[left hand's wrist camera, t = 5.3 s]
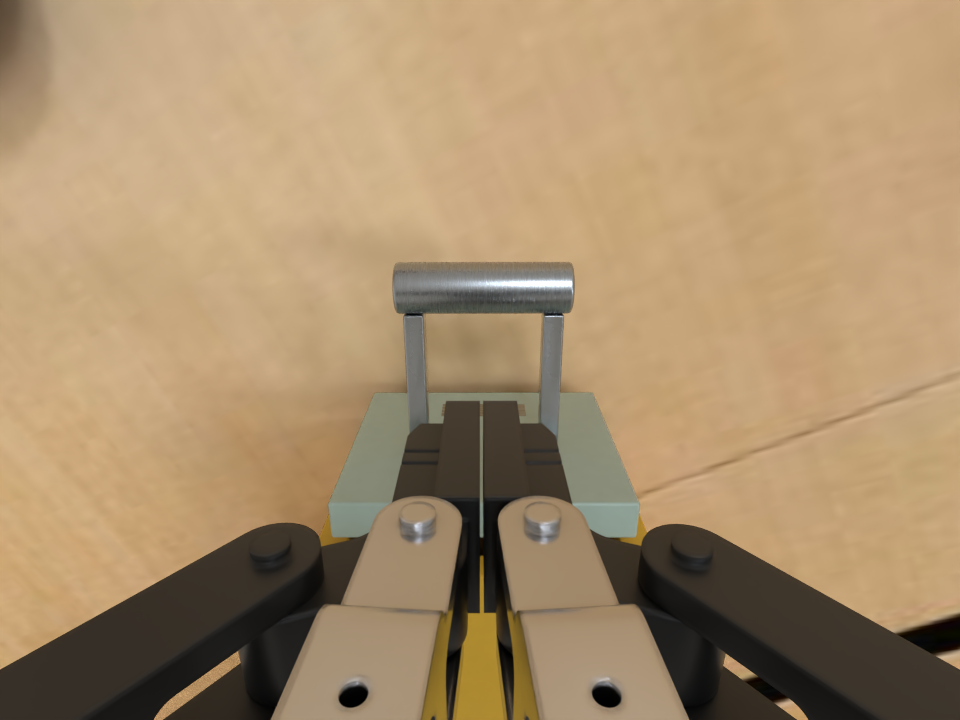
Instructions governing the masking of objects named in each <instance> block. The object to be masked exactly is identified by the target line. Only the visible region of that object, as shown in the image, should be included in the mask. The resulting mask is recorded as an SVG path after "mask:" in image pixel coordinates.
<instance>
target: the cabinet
mask: <svg viewBox="0 0 960 720" xmlns="http://www.w3.org/2000/svg"><path fill="white" fill-rule="evenodd" d="M646 534H647V531H646V529H645V526H644V524H643V522H642V519H641V517H640V514H639V517H638V526H637V534H636V537H634V538H610V539H614V540H618V541H622V542H626V543H631V544H635V545H640V546H641V544H642V540H643V538H644V536H645V535H646ZM355 538H357V537H332V534H331V525H330V517H329V515H328V517H327V520H326V522H325V525H324V527H323V529H322V532H321V534H320V537H319V539H320V541H321V546H325V545H330V544H334V543H339V542H343V541H347V540H351V539H355ZM456 720H504V717H503V708H502V700H501V692H500V683H499V675H498V667H497V658H496V613H484V572H483V556H480V613H468V630H467V636H466V638H465V641H464V658H463V667H462V675H461V683H460V692H459V700H458V708H457V717H456Z"/></svg>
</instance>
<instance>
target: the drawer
mask: <svg viewBox="0 0 960 720" xmlns="http://www.w3.org/2000/svg"><path fill="white" fill-rule="evenodd" d="M392 288H393V302H394V307H395V310H396V312H397V313H399V314H404V317H403V322H404V341H405V359H406V378H407V393H374V396H373V398H372V400H371V403H370V405H369V408H368V410H367V412H366V415H365V417H364V420H363V422H362V424H361V427H360V429H359V431H358V434H357V436H356V439H355V441H354V443H353V446H352V448H351V451H350V453H349V455H348V458H347V460H346V463H345V465H344V467H343V470H342V472H341V474H340V477H339V479H338V482H337V484H336V486H335V489H334V491H333V494H332V496H331V498H330V501H329V503H328V508H329V517H330V525H331V534H332V537H360V536H362V535H364V534H367V533H369V531H370V529H371V526H372V524H373V521H374V519H375V517H376V515H377V514H378V513H379V511H380V510H381V509H383V508H384V507H385V506H387V505H388V504H390V503H392V500H393V495H394V491H395V487H396V483H397V479H398V474H399V470H400V466H401V464H402V458H403V453H404V449H405V445H406V441H407V436H408V435H409V434H410V433H411V432H412V431H413V430H414V429H415V428H416V427H417V426H418V425H420V424H421V423H443V420H444V412H445V404H446V401H480V556H483V401H517V404H518V411H519V418H520V423H543V424H544V425H545V426H546V427H547V428H548V429H549V430H550V431H551V432H552V433H553V434H554V435H555V436H556V440H557V444H558V448H559V453H560V456H561V460H562V464H563V468H564V472H565V476H566V480H567V484H568V488H569V492H570V496H571V500H572V504H573V506H575V507H576V508H577V509H579V510H580V511H581V513H582V514H583V515H584V517H585V519H586V521H587V524H588V526H589V529H591V530H593V531H594V532H596V533H598V534H600V535H602V536H605V537H607V538H634V537H636V534H637V526H638V517H639V509H640V503H639V501H638V498H637V496H636V494H635V491H634V489H633V487H632V484H631V482H630V479H629V477H628V475H627V472H626V470H625V468H624V465H623V463H622V461H621V458H620V456H619V453H618V451H617V449H616V446H615V444H614V442H613V439H612V437H611V435H610V432H609V430H608V427H607V425H606V423H605V420H604V418H603V416H602V413H601V411H600V409H599V406H598V404H597V402H596V399H595V397H594V394H593V393H560V385H561V366H562V346H563V327H564V315H563V313H570V312H571V310H572V308H573V303H574V292H575V279H574V269H573V266H572V263H570V262H398V263H396V264H395V266H394V270H393V282H392ZM489 313H542V323H541V350H540V377H539V393H428V373H427V347H426V322H425V314H489Z"/></svg>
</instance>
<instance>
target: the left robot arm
mask: <svg viewBox="0 0 960 720" xmlns="http://www.w3.org/2000/svg"><path fill="white" fill-rule="evenodd" d="M483 572H484V613H496V658H497V667H498V675H499V683H500V692H501V700H502V708H503V717H504V720H796V719H795V718H794V717H792V716H791V715H790V714H788V713H787V712H785V711H784V710H783V709H781V708H780V707H779V706H777V705H776V704H774V703H773V702H772V701H770V700H769V699H768V698H766V697H765V696H764V695H762V694H761V693H759V692H758V691H757V690H755V689H754V688H753V687H751V686H750V685H748V684H747V683H746V682H744V681H743V680H742V679H740V678H739V677H738V676H736V675H735V674H733V673H732V672H731V671H729V670H728V669H727V668H725V667H724V666H723V664H724V659H725V654H728V655H729V656H730V657H732V658H733V659H735V660H736V661H737V662H739V663H740V664H742V665H743V666H744V667H746V668H747V669H749V670H750V671H752V672H753V673H754V674H756V675H757V676H759V677H760V678H761V679H763V680H764V681H766V682H767V683H768V684H770V685H771V686H773V687H774V688H775V689H777V690H778V691H780V692H781V693H782V694H784V695H785V696H787V697H788V698H789V699H791V700H792V701H793V702H794V703H795V704H796V705H797V706H799V708H800V709H801V710H802V711H803V712H804V714H805V715H806V716H807V718H808V720H960V670H959V669H958V668H956V667H954V666H952V665H950V664H949V663H947V662H945V661H943V660H941V659H940V658H938V657H936V656H934V655H932V654H931V653H929V652H927V651H925V650H923V649H922V648H920V647H918V646H916V645H914V644H913V643H911V642H909V641H907V640H905V639H904V638H902V637H900V636H898V635H896V634H895V633H893V632H891V631H889V630H887V629H886V628H884V627H882V626H880V625H878V624H877V623H875V622H873V621H871V620H869V619H868V618H866V617H864V616H862V615H860V614H859V613H857V612H855V611H853V610H851V609H850V608H848V607H846V606H844V605H842V604H841V603H839V602H837V601H835V600H833V599H832V598H830V597H828V596H826V595H824V594H823V593H821V592H819V591H817V590H815V589H814V588H812V587H810V586H808V585H806V584H805V583H803V582H801V581H799V580H797V579H796V578H794V577H792V576H790V575H788V574H787V573H785V572H783V571H781V570H779V569H778V568H776V567H774V566H772V565H770V564H769V563H767V562H765V561H763V560H761V559H760V558H758V557H756V556H754V555H752V554H751V553H749V552H747V551H745V550H743V549H742V548H740V547H738V546H736V545H734V544H733V543H731V542H729V541H727V540H725V539H724V538H722V537H720V536H718V535H716V534H714V533H712V532H710V531H708V530H705V529H702V528H699V527H695V526H690V525H684V524H668V525H662V526H659V527H656V528H654V529H652V530H650V531H649V532H648V533H647V534H646V535H645V536H644V538H643V540H642V544H641V546H640V545H635V544H631V543H626V542H622V541H618V540H614V539H610V538H607V537H605V536H602V535H600V534H598V533H596V532H594V531H593V530H591V529H589V526H588V524H587V521H586V519H585V517H584V515H583V514H582V513H581V511H580V510H579V509H577V508H576V507H575V506H573V504H572V500H571V496H570V492H569V488H568V484H567V480H566V476H565V472H564V468H563V464H562V460H561V456H560V453H559V448H558V444H557V440H556V436H555V435H554V434H553V433H552V432H551V431H550V430H549V429H548V428H547V427H546V426H545V425H544V424H543V423H520V418H519V411H518V404H517V401H483ZM468 613H480V401H446V404H445V412H444V420H443V423H421V424H420V425H418V426H417V427H416V428H415V429H414V430H413V431H412V432H411V433H410V434H409V435H408V436H407V441H406V445H405V449H404V453H403V458H402V464H401V466H400V470H399V474H398V479H397V483H396V487H395V491H394V495H393V500H392V503H390V504H388V505H387V506H385V507H384V508H383V509H381V510H380V511H379V513H378V514H377V515H376V517H375V519H374V521H373V524H372V526H371V529H370V531H369V533H367V534H364V535H362V536H360V537H357V538H355V539H351V540H347V541H343V542H339V543H334V544H330V545H325V546H321V541H320V539H319V536H318V535H317V534H316V532H315V531H313V530H312V529H311V528H309V527H307V526H304V525H301V524H295V523H276V524H271V525H266V526H263V527H259V528H257V529H254V530H252V531H250V532H247V533H245V534H244V535H242V536H240V537H238V538H236V539H235V540H233V541H231V542H229V543H227V544H226V545H224V546H222V547H220V548H218V549H217V550H215V551H213V552H211V553H209V554H208V555H206V556H204V557H202V558H200V559H199V560H197V561H195V562H193V563H191V564H190V565H188V566H186V567H184V568H182V569H181V570H179V571H177V572H175V573H173V574H172V575H170V576H168V577H166V578H164V579H163V580H161V581H159V582H157V583H155V584H154V585H152V586H150V587H148V588H146V589H145V590H143V591H141V592H139V593H137V594H136V595H134V596H132V597H130V598H128V599H127V600H125V601H123V602H121V603H119V604H118V605H116V606H114V607H112V608H110V609H109V610H107V611H105V612H103V613H101V614H100V615H98V616H96V617H94V618H92V619H91V620H89V621H87V622H85V623H83V624H82V625H80V626H78V627H76V628H74V629H73V630H71V631H69V632H67V633H65V634H64V635H62V636H60V637H58V638H56V639H55V640H53V641H51V642H49V643H47V644H46V645H44V646H42V647H40V648H38V649H37V650H35V651H33V652H31V653H29V654H28V655H26V656H24V657H22V658H20V659H19V660H17V661H15V662H13V663H11V664H10V665H8V666H6V667H4V668H2V669H1V670H0V720H154V718H155V716H156V715H157V713H158V712H159V710H160V709H161V708H162V707H163V706H164V705H165V704H166V703H167V702H168V701H169V700H170V699H171V698H172V697H173V696H175V695H176V694H178V693H179V692H180V691H182V690H183V689H185V688H186V687H187V686H189V685H190V684H192V683H193V682H194V681H196V680H197V679H199V678H200V677H201V676H203V675H204V674H206V673H207V672H209V671H210V670H211V669H213V668H214V667H216V666H217V665H218V664H220V663H221V662H223V661H224V660H225V659H227V658H228V657H230V656H231V655H232V654H234V653H235V652H237V651H238V652H239V657H240V662H241V663H240V664H239V665H238V666H236V667H235V668H233V669H232V670H231V671H229V672H228V673H227V674H225V675H224V676H223V677H221V678H220V679H218V680H217V681H216V682H214V683H213V684H212V685H210V686H209V687H207V688H206V689H205V690H203V691H202V692H201V693H199V694H198V695H196V696H195V697H194V698H192V699H191V700H190V701H188V702H187V703H186V704H184V705H183V706H181V707H180V708H179V709H177V710H176V711H175V712H173V713H172V714H170V715H169V716H168V717H166V718H165V719H164V720H456V717H457V708H458V700H459V692H460V683H461V675H462V667H463V658H464V641H465V638H466V636H467V630H468Z"/></svg>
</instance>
